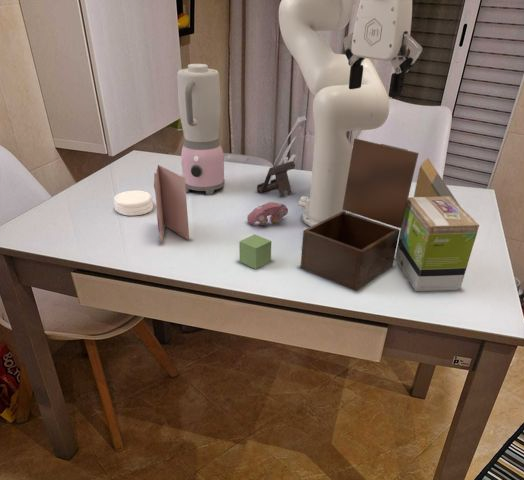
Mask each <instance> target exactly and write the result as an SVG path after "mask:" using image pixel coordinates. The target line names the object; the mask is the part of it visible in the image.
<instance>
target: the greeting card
mask: <svg viewBox="0 0 524 480" xmlns="http://www.w3.org/2000/svg"><path fill="white" fill-rule="evenodd" d="M153 189H154V193H155V194H154V195H155V202H156V215H157V216H156V218H157V219H156V220H157V228H158V232H159V237H160V245H163V237H164V231H165V227H167V228H168V229H170V230H172V231H173V232H175V233H177V234H178V235H180V236H182V237H183V238H184V239H186V240H188V241H190V228H189V216H188V202H187V191H186V187H185V178H184V177H183V175H180V174H178V173H176V172H174V171H172V170H170V169H168V168H166V167H163V166H161V165H160V164H157V167H156V171H155V173H154V177H153Z"/></svg>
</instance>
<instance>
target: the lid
mask: <svg viewBox="0 0 524 480" xmlns="http://www.w3.org/2000/svg"><path fill="white" fill-rule="evenodd" d="M419 155H420V154H419V152H416V151H412V150H409V149H406V148H403V147H402V148H401V147H398V146H393V145H389V144H384V143H377V142H373V141H367V140H364V139H360V138H354V139H353V142H352V155H351V161H350V167H349V173H348V179H347V185H346V191H345V197H344V203H343V209H342V210H345V211H346V212H347V213H350V214H353V215H356V216H359V217H362V218H365V219H368V220H372V221H375V222H378V223H381V224H384V225H387V226H390V227H393V228H396V229H401V225H402V221H403V217H404V213H405V209H406V204H407V200H408V197H409V196H410V192H411V187H412V183H413V179H414V174H415V171H416V167H417V163H418V158H419Z"/></svg>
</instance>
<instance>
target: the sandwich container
mask: <svg viewBox="0 0 524 480" xmlns="http://www.w3.org/2000/svg"><path fill="white" fill-rule="evenodd" d="M439 196H450V197H451V198H452V199H453V200H454V201H455V202H456V203H457V204H458V205H459V206H460V207H461V205H460V204H459V202H458V201H457V199H456V198H455V196H454V195H453V193H452V192H451V190H450V188H449V187H448V186H447V185H446V183H445V181H444V180H443V179H442V177H441V175H440V174H439V172H438V171H437V169H436V168H435V166H434V165H433V163H432V161H431V160H430V158H429V157H426V158H425V160H423V162H422V163H421V164H420V166H419V170H418V175H417V179H416V184H415V189H414V194H413V197H439Z"/></svg>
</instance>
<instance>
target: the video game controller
mask: <svg viewBox="0 0 524 480" xmlns="http://www.w3.org/2000/svg"><path fill="white" fill-rule="evenodd" d="M288 213H289V209H288V207H287V206H286V205H285V204H284V203H283V202H282V201H279V202H274V201H271V202H270V201H269V202H266V203H263V205H258V206H257V207H255V208H254V209H253V210H252V211H251V212H250V213H249V214H248V215H247V220H246V221H247V223H248V224H251V225H252V224H253V225H254V224H255V223H259V224H260V226H265V225H267V224H268V222H269V220H270V223H272V224H277V222H278V221H280V220H281V219H283V218H284V217H285V216H286V215H288ZM268 217H269V219H268Z"/></svg>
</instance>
